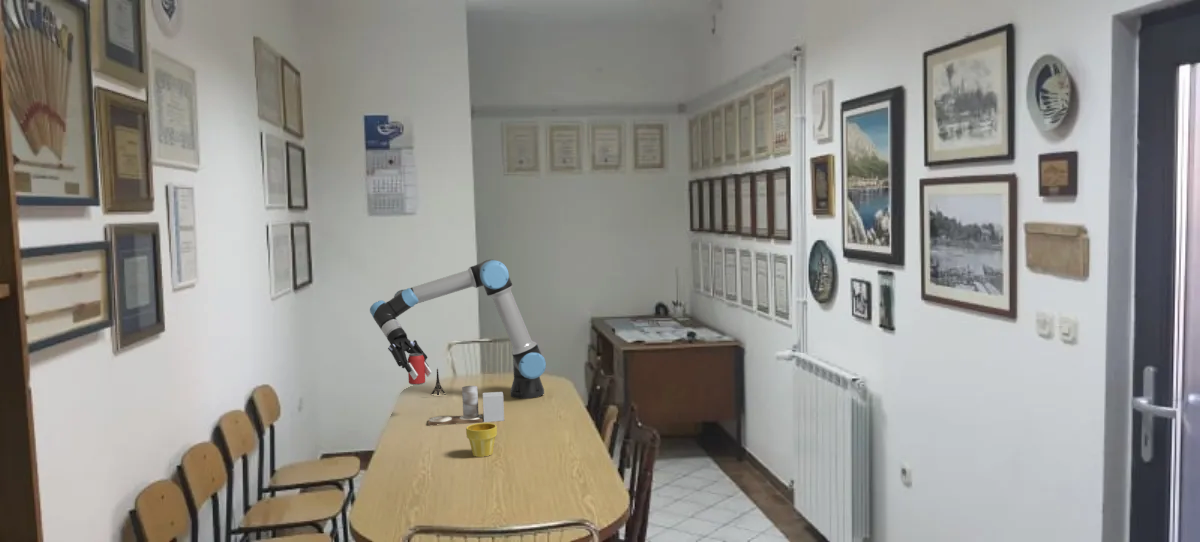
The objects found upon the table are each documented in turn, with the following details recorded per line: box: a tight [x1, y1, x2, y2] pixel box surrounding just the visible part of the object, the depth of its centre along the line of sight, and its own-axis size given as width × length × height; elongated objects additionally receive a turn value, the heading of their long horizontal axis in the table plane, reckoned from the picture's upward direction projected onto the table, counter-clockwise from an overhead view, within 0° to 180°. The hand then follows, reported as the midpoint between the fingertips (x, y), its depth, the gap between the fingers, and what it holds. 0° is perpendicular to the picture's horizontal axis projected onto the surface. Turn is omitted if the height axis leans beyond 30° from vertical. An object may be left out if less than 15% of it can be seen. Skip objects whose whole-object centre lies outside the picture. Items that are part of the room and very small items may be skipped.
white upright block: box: [482, 391, 505, 423], centre depth 345 cm, size 8×8×10 cm
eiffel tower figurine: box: [430, 368, 446, 395], centre depth 396 cm, size 15×10×13 cm
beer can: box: [407, 353, 426, 386], centre depth 349 cm, size 7×7×12 cm
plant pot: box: [465, 422, 498, 458], centre depth 294 cm, size 10×10×10 cm
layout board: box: [427, 385, 484, 426], centre depth 342 cm, size 21×9×13 cm, turn 98°
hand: (422, 375), depth 347 cm, fingers closed on beer can, 6 cm apart
